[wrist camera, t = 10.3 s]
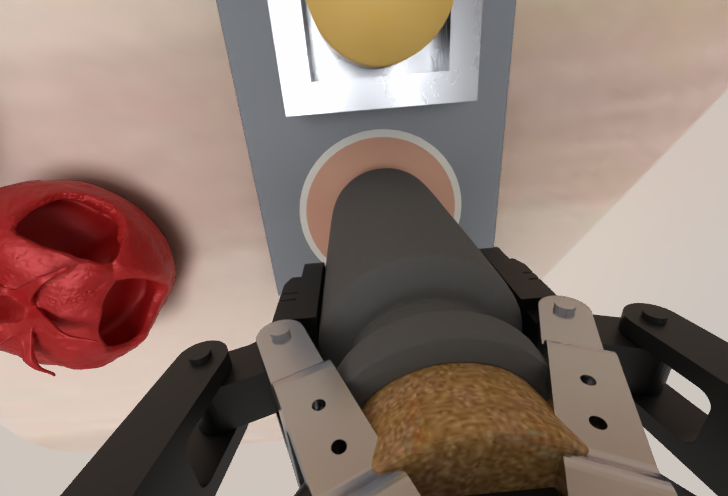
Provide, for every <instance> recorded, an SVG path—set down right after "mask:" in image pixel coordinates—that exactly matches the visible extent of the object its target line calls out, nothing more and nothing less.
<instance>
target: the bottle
mask: <svg viewBox="0 0 728 496" xmlns="http://www.w3.org/2000/svg"><path fill="white" fill-rule="evenodd" d="M318 345H319V353H320V356H321V358H322V359H323V361H326V360H328V359H329V360H330V361H331V362H332V363H333V365H334V366H335V368H336V370H337V371H338V373H339V374H340V376H341V378H342V379H343V381H344V383H345V384H346V386H347V387H348V389H349V391H350V392H351V394H352V396H353V397H354V399H355V401H356V402H357V404H358V405H359V407H360V409H361V410H362V412H363V414H364V415H365V417H366V418H367V420H368V422H369V423H370V425H371V427H372V428H373V430H374V432H375V433H376V435H377V436H378V439H377V443H376V447H375V451H374V455H373V459H372V470H373V471H376V472H382V471H386V470H390V469H393V468H396V467H401V468H402V469H403V470H404V471H405V472H406V474H407V475H408V476H409V478H410V479H411V481H412V483H413V484H414V486H415V487H416V489H417V490H418V492H419V494H420V495H421V496H465V495H476V494H486V493H497V492H507V491H518V490H528V489H539V488H549V487H555V486H554V482H555V478H556V474H557V470H558V466H559V463H560V458H561V453H562V452H570V453H577V454H587V453H589V449H588V447H587V446H586V445H585V444H584V443H583V442H582V441H581V440H580V439H579V438H578V437H577V436H576V435H575V434H574V433H573V432H572V431H571V430H570V429H569V428H568V427H567V426H566V425H565V424H564V423H563V422H562V421H561V420H560V419H559V418H558V417H557V416H556V415H555V414H554V412H553V410H552V408H551V406H550V405H549V404H548V402H547V396H546V388H545V384H546V377H547V369H548V364H547V361H546V359H545V358H544V356H543V355H542V354H541V353H540V351H539V350H538V349H537V348H536V347H535V345H534V344H533V343H532V342H531V340H530V339H529V338H527V337H526V336H525V335H524V334H523V333H522V317H521V312H520V308H519V306H518V304H517V301H516V299H515V297H514V295H513V293H512V292H511V290H510V289H509V287H508V286H507V284H506V283H505V281H504V280H503V279H502V277H501V276H500V275H499V273H498V272H497V271H496V270H495V268H494V267H493V266H492V265H491V263H490V262H489V261H488V260H487V258H486V257H485V256H484V255H483V253H482V252H481V251H480V250H479V248H478V247H477V246H476V245H475V244H474V242H473V241H472V240H471V239H470V238H469V236H468V235H467V234H466V233H465V232H464V230H463V229H462V228H461V227H460V225H459V224H458V223H457V222H456V221H455V219H454V218H453V217H452V216H451V215H450V213H449V212H448V211H447V210H446V209H445V207H444V206H443V205H442V204H441V203H440V201H439V200H438V199H437V198H436V197H435V195H434V194H433V193H432V192H431V191H430V190H429V189H428V187H427V186H426V185H425V184H424V183H423V182H421V181H420V180H419V179H418V178H416V177H415V176H413V175H412V174H410V173H407V172H405V171H402V170H399V169H393V168H380V169H374V170H370V171H367V172H365V173H363V174H361V175H359V176H357V177H355V178H354V179H353V180H352V181H350V182H349V183H348V184H347V185H346V186H345V187H344V188H343V190H342V191H341V193H340V194H339V196H338V198H337V200H336V203H335V206H334V209H333V214H332V220H331V227H330V235H329V243H328V251H327V259H326V268H325V277H324V286H323V295H322V304H321V313H320V326H319V340H318Z"/></svg>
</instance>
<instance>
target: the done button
mask: <svg viewBox="0 0 728 496" xmlns="http://www.w3.org/2000/svg"><path fill="white" fill-rule="evenodd" d="M306 3H307V6H308V8H309V11H310V13H311V16H312V18H313V20H314V22H315V24H316V27H317V29H318V31H319V32H320V34H321V36H322V38H323V39H324V41H325V42H326V43H327V45H328V46H329V47H330V48H331V49H332V50H333V51H334V52H335V53H336V54H337V55H338V56H339V57H341V58H342V59H344V60H345V61H347V62H349V63H351V64H353V65H355V66H359V67H362V68H368V69H381V68H387V67H390V66H393V65H396V64H398V63H400V62H402V61H404V60H406V59H408V58H409V57H411V56H413V55H415V54H416V53H418V52H419V51H421V50H422V49H423V48H424V47H425V46H427V45H428V44H429V43H430V42H431V41H432V40H433V38H434V37H435V36H436V35H437V34H438V32H439V31H440V29H441V28H442V27H443V25H444V23H445V21H446V19H447V18H448V16H449V13H450V11H451V9H452V6H453V3H454V0H306Z"/></svg>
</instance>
